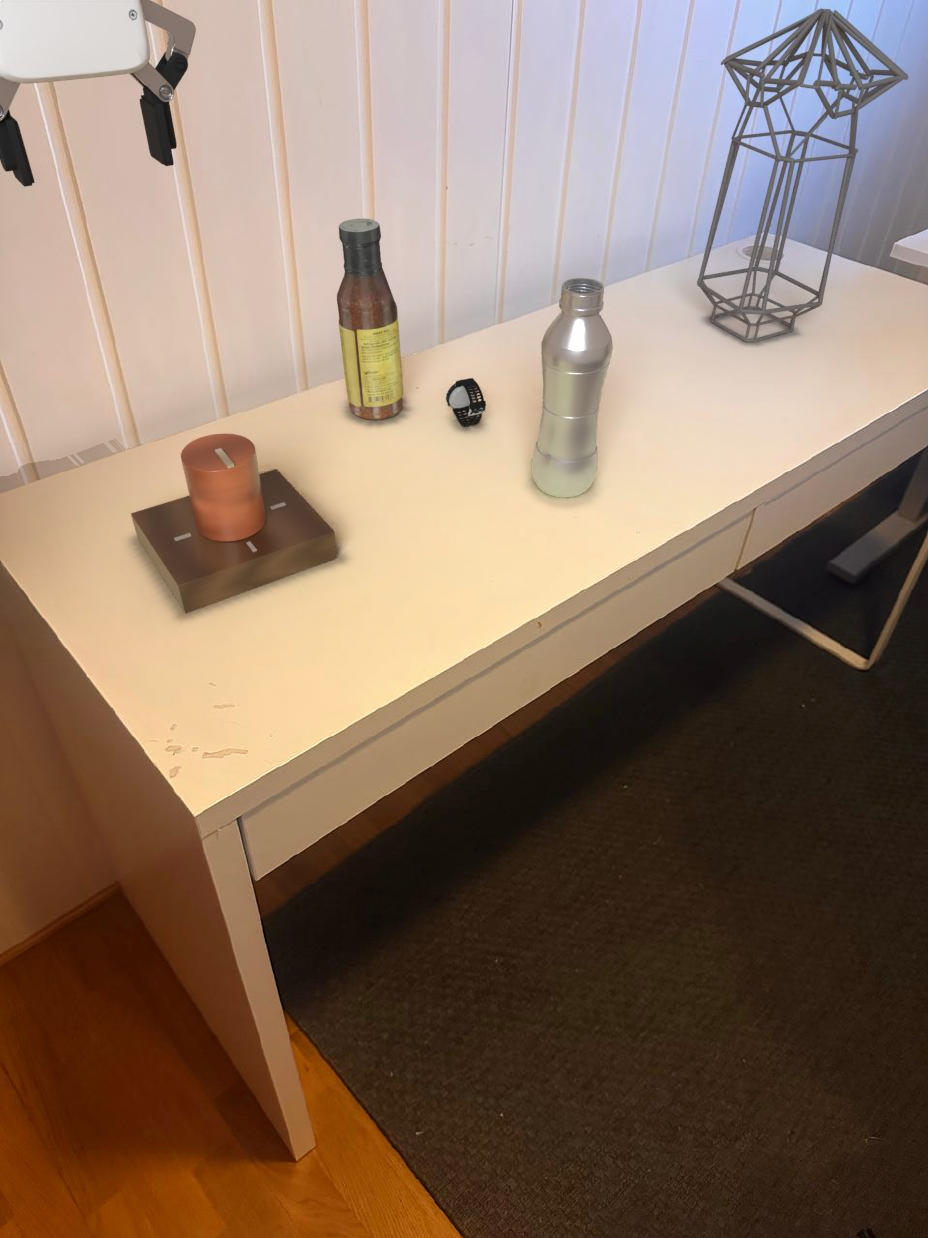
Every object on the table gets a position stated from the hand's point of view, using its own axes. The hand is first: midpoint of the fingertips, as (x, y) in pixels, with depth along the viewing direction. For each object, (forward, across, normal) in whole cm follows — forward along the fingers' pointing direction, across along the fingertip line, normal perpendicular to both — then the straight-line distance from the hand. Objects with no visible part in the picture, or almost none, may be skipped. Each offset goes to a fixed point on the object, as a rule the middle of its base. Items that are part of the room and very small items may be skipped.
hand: (95, 170), depth 63 cm
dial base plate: (+30, -3, +7) cm, 31 cm away
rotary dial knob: (+27, -3, +7) cm, 28 cm away
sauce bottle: (+31, -26, -10) cm, 41 cm away
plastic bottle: (+31, -34, +14) cm, 48 cm away
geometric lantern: (+31, -80, -3) cm, 85 cm away
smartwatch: (+31, -33, -1) cm, 45 cm away
